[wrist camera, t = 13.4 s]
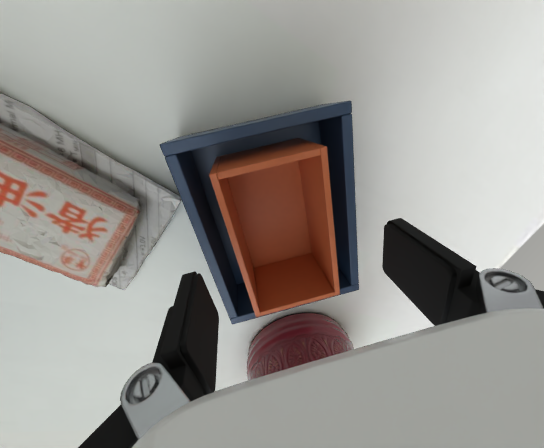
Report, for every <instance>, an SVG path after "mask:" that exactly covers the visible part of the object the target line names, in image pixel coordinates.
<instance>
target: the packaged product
mask: <svg viewBox="0 0 544 448" xmlns="http://www.w3.org/2000/svg"><path fill="white" fill-rule="evenodd" d="M180 201H181V197H180V196H178V195H177V194H175V193H173V192H171V191H170V190H168V189H166V188H164V187H163V186H161V185H159V184H157V183H156V182H154V181H152V180H150V179H149V178H147V177H145V176H143V175H141V174H140V173H138V172H136V171H134V170H133V169H131V168H129V167H127V166H125V165H123V164H121V163H119V162H117V161H115V160H114V159H112V158H110V157H109V156H107V155H105V154H104V153H102V152H100V151H99V150H97V149H95V148H94V147H92V146H90V145H89V144H87V143H85V142H84V141H82V140H80V139H79V138H77V137H75V136H74V135H72V134H70V133H69V132H67V131H65V130H64V129H62V128H61V127H59V126H58V125H56V124H55V123H53V122H52V121H51V120H49V119H48V118H46V117H45V116H43V115H42V114H40V113H39V112H37V111H36V110H34V109H33V108H31V107H30V106H28V105H25V104H23V103H21V102H19V101H17V100H14V99H12V98H10V97H8V96H5V95H3V94H1V93H0V252H2V253H5V254H8V255H12V256H15V257H17V258H20V259H22V260H24V261H26V262H29V263H32V264H35V265H38V266H41V267H43V268H46V269H48V270H51V271H54V272H58V273H61V274H63V275H65V276H67V277H70V278H72V279H74V280H78V281H81V282H83V283H85V284H89V285H93V286H95V287H106V286H107V285H108V284H110V285H113V286H115V287H117V288H119V289H122V290H125V289H126V288H127V287H128V285H129V284H130V282H131V281H132V280H133V278H134V277H135V275H136V274H137V272H138V270H139V269H140V267H141V265H142V263H143V261H144V259H145V258H146V257H147V255H148V254H149V252H150V251H151V250H152V248H153V247H154V245H155V244H156V242H157V241H158V239H159V238H160V236H161V234H162V233H163V231H164V230H165V228H166V227H167V225H168V223H169V222H170V220H171V218H172V216H173V214H174V212H175V210H176V208H177V207H178V205H179V203H180Z"/></svg>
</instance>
